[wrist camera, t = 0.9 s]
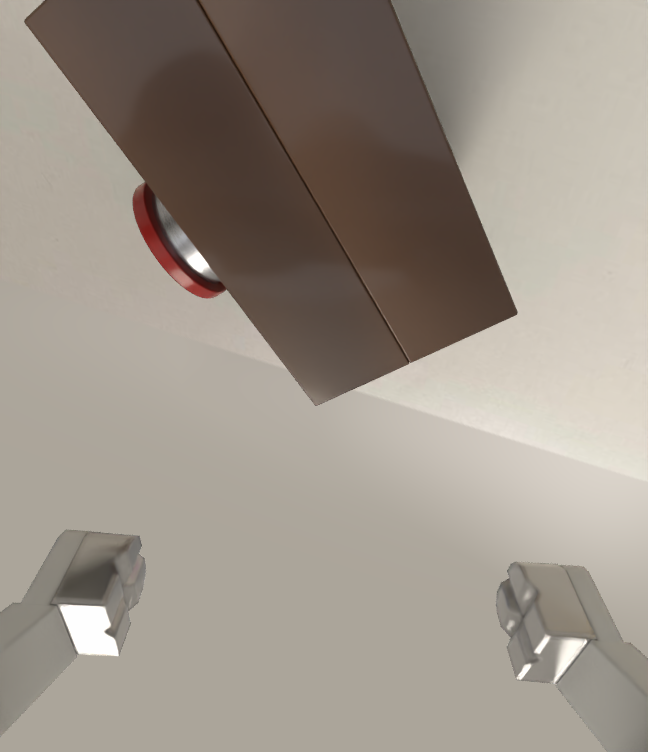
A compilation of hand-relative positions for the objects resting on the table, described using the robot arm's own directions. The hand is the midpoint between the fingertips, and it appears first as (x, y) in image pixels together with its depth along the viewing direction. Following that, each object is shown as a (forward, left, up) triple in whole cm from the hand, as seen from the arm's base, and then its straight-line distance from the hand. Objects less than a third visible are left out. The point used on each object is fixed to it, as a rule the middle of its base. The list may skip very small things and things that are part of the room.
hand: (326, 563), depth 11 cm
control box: (+4, +4, -22) cm, 23 cm away
